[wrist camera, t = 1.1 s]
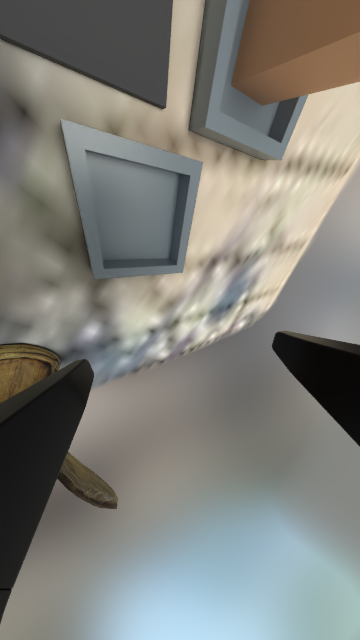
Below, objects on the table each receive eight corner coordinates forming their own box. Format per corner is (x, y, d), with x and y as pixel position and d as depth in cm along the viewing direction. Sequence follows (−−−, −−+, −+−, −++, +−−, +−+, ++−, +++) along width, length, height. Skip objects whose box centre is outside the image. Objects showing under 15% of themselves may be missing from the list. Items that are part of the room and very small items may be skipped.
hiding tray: (188, 130, 14) (205, 127, 12) (233, -211, 7) (281, -313, 6) (262, 160, 18) (281, 160, 16) (330, -32, 12) (372, -61, 10)
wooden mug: (101, 359, 27) (129, 501, 16) (-3, 396, 22) (-68, 641, 11) (80, 322, 20) (103, 516, 9) (-72, 363, 16) (-393, 866, 5)
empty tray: (91, 268, 17) (94, 279, 15) (60, 123, 10) (60, 118, 9) (173, 264, 21) (182, 272, 20) (188, 161, 15) (202, 162, 13)
